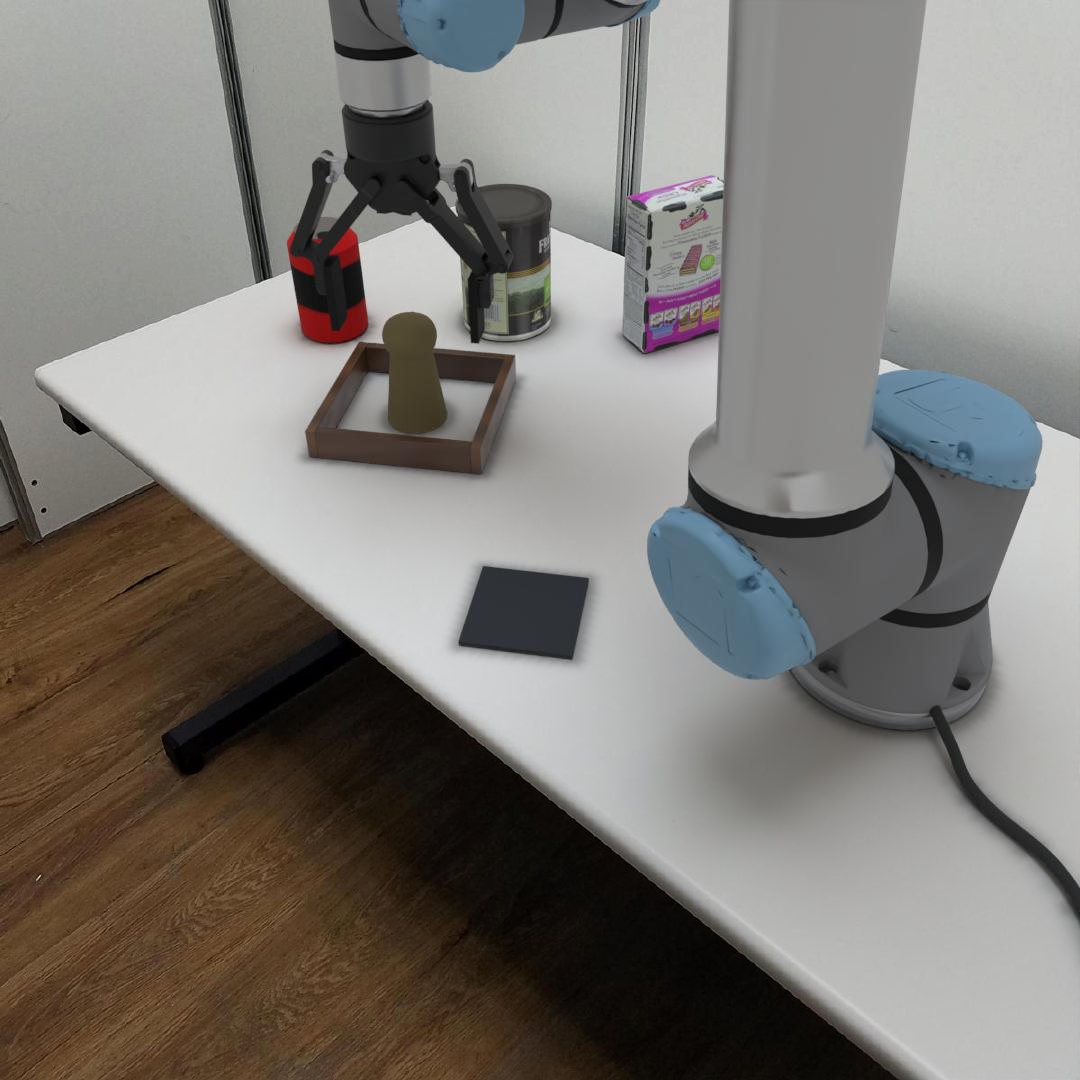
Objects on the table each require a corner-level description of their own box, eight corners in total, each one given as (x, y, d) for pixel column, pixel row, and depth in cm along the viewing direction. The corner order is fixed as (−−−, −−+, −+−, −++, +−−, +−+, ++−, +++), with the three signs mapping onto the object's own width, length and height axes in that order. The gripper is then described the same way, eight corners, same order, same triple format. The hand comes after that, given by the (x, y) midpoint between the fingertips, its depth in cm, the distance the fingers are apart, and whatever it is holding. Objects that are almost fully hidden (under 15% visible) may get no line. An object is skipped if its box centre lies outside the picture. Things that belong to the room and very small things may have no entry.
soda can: (311, 350, 118) (294, 248, 110) (294, 319, 123) (277, 220, 115) (377, 335, 120) (365, 234, 112) (357, 306, 125) (344, 208, 118)
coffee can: (552, 298, 127) (552, 182, 117) (551, 342, 119) (551, 221, 110) (465, 298, 127) (458, 182, 118) (459, 342, 119) (451, 221, 110)
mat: (572, 659, 82) (572, 655, 82) (458, 645, 83) (458, 641, 83) (588, 581, 89) (588, 577, 88) (483, 569, 90) (482, 565, 90)
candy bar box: (699, 311, 124) (713, 172, 113) (725, 330, 120) (742, 188, 110) (618, 335, 120) (624, 193, 109) (642, 355, 116) (651, 211, 106)
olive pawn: (421, 393, 111) (412, 297, 104) (459, 416, 108) (453, 318, 100) (375, 416, 108) (362, 319, 101) (413, 440, 104) (403, 341, 97)
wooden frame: (481, 474, 100) (480, 448, 98) (309, 457, 102) (304, 431, 101) (516, 379, 113) (515, 354, 111) (362, 365, 115) (358, 341, 113)
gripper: (543, 94, 89) (543, 321, 103) (259, 78, 92) (297, 300, 106) (527, 126, 83) (529, 362, 97) (225, 108, 86) (269, 338, 100)
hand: (408, 330), depth 102 cm, fingers open, 13 cm apart
